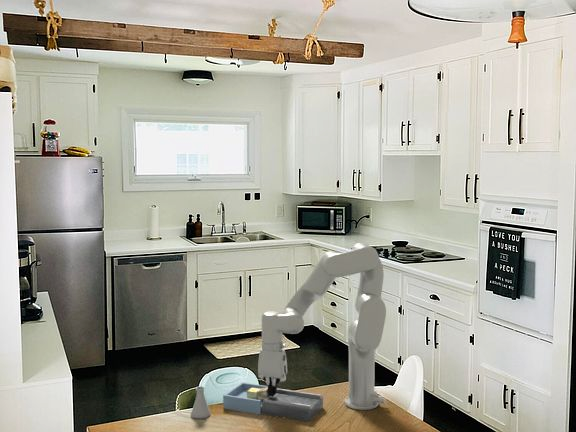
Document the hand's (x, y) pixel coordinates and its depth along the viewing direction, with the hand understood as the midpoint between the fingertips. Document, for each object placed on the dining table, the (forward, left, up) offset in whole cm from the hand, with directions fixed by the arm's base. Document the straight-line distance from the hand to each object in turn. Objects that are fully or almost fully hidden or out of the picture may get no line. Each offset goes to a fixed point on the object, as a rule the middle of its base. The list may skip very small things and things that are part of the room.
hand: (272, 394), depth 224 cm
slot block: (-8, 0, -5) cm, 10 cm away
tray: (+9, 0, -5) cm, 10 cm away
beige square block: (+3, 0, -1) cm, 3 cm away
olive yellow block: (+8, -1, -2) cm, 8 cm away
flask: (+21, +16, -5) cm, 27 cm away
